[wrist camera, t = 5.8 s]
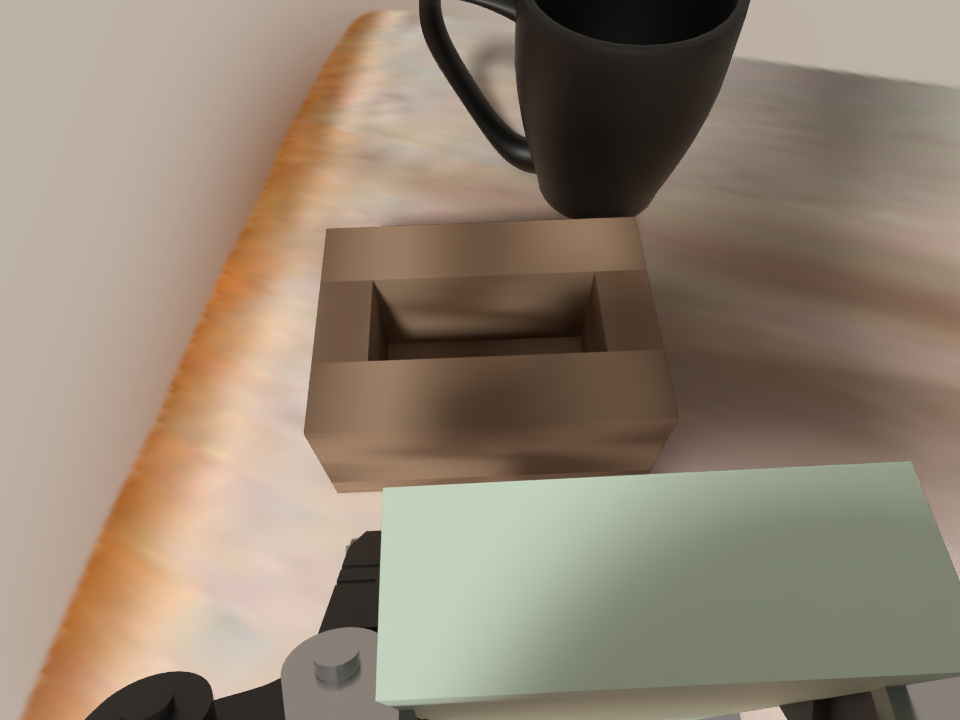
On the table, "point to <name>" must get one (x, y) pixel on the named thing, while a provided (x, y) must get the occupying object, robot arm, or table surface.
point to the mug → (600, 92)
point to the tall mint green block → (661, 593)
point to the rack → (486, 355)
